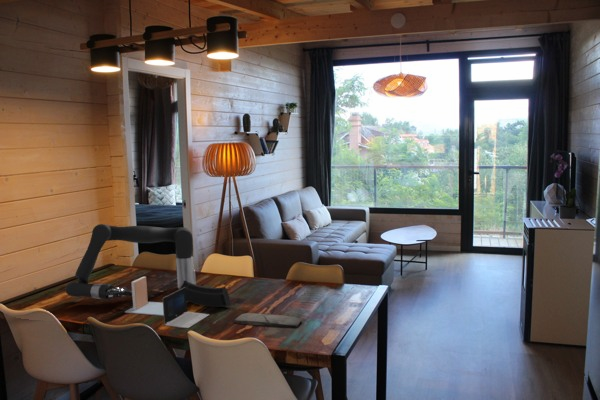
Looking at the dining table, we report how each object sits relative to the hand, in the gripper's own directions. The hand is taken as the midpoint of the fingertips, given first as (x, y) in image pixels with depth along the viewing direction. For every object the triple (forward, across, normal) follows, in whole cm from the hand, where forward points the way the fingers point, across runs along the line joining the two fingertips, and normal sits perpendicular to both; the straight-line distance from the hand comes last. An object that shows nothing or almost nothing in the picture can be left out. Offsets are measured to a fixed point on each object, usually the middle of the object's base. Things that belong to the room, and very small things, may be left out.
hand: (132, 293), depth 261 cm
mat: (+12, 0, +7) cm, 13 cm away
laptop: (+36, -11, +8) cm, 39 cm away
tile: (+4, 0, +7) cm, 8 cm away
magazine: (+34, +11, +8) cm, 36 cm away
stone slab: (+74, -5, +8) cm, 74 cm away
